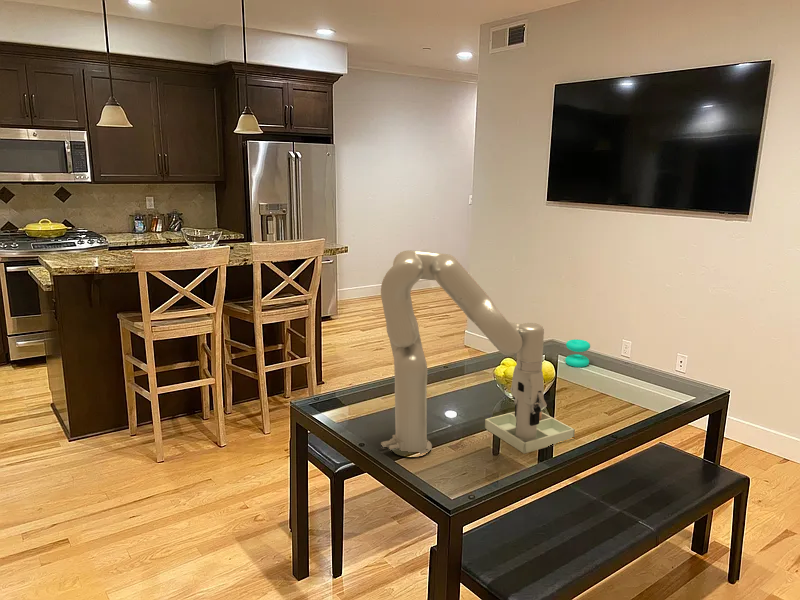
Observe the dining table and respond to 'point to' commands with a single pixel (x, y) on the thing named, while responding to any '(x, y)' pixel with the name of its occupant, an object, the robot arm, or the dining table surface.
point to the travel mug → (524, 418)
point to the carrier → (545, 434)
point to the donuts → (577, 359)
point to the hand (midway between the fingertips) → (526, 419)
